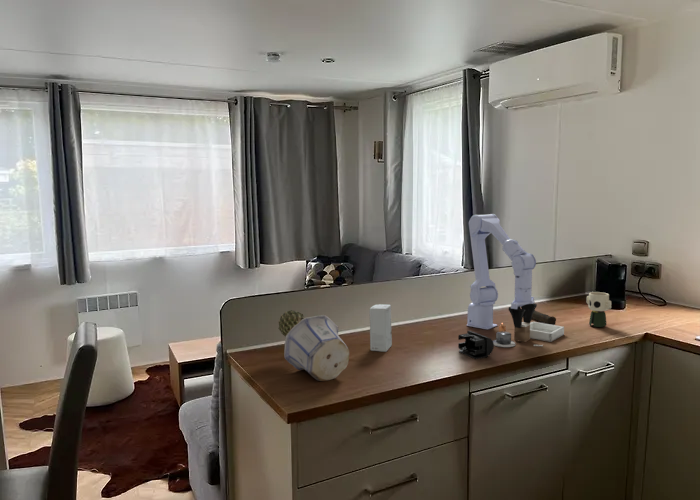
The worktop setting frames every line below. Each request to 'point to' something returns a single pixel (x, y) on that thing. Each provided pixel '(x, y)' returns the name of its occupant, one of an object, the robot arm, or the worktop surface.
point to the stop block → (522, 332)
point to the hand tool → (544, 318)
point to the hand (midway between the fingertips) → (522, 325)
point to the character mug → (598, 308)
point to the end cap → (475, 345)
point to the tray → (545, 331)
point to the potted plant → (313, 345)
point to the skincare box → (380, 327)
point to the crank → (503, 335)
